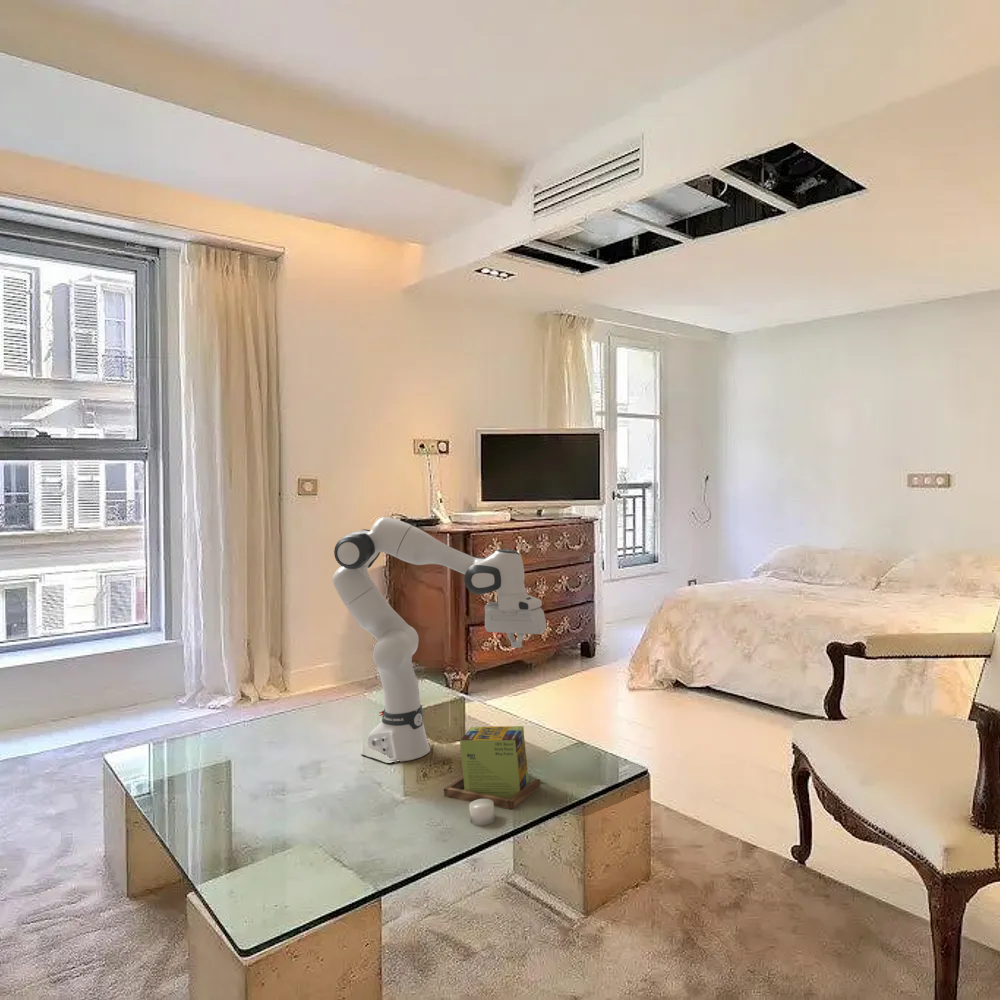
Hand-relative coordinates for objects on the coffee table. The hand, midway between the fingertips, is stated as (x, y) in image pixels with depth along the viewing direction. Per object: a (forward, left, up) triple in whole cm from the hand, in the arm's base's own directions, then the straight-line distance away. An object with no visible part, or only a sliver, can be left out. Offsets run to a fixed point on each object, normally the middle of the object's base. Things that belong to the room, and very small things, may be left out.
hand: (516, 647), depth 223 cm
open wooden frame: (+7, -29, -31) cm, 43 cm away
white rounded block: (+14, -44, -31) cm, 56 cm away
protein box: (+8, -28, -31) cm, 43 cm away
